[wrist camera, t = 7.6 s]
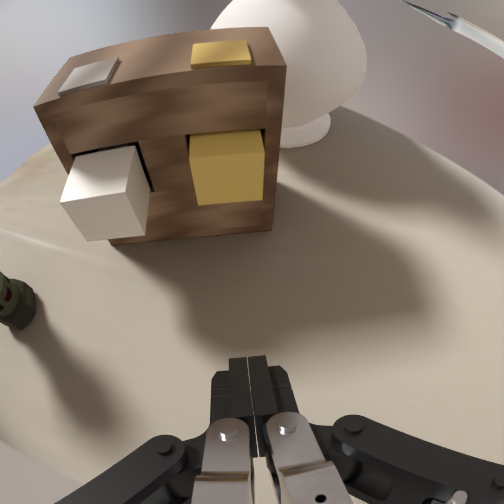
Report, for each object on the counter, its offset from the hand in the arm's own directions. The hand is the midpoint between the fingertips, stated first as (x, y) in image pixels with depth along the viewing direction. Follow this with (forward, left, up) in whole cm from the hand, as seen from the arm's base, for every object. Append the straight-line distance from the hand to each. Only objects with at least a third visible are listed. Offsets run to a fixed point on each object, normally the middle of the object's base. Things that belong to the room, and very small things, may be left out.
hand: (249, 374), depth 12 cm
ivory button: (-8, +13, -4) cm, 16 cm away
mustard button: (0, +15, -4) cm, 15 cm away
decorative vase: (+7, +31, -11) cm, 34 cm away
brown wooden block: (-4, +17, -10) cm, 21 cm away
